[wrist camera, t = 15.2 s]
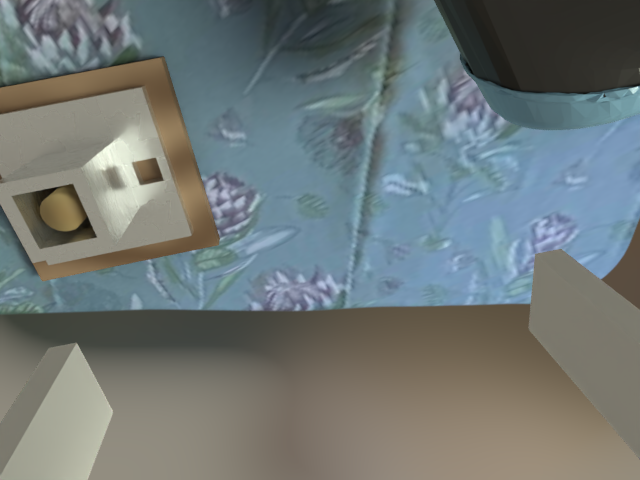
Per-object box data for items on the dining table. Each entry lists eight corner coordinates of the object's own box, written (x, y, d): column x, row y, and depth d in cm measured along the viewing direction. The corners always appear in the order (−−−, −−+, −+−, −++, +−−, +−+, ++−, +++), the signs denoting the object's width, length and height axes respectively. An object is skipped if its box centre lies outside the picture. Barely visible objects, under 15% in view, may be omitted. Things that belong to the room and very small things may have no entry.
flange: (144, 85, 38) (113, 102, 30) (193, 230, 44) (179, 276, 36) (-21, 117, 37) (-97, 143, 29) (53, 259, 43) (7, 312, 35)
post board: (-46, 96, 37) (-135, 117, 29) (164, 56, 38) (137, 66, 30) (48, 273, 46) (0, 330, 37) (219, 238, 46) (211, 286, 38)
